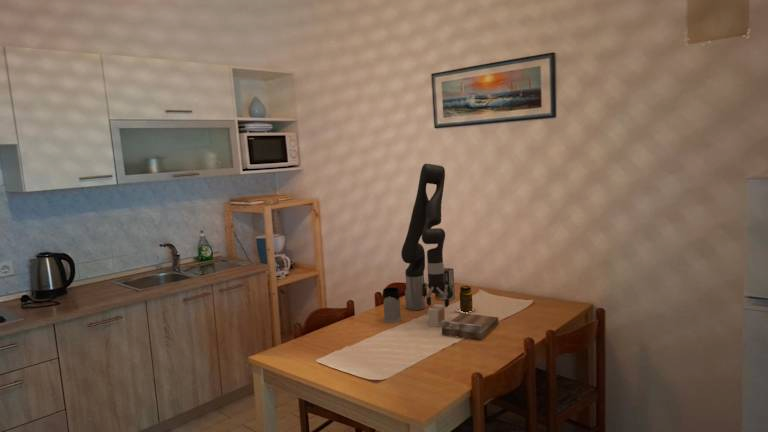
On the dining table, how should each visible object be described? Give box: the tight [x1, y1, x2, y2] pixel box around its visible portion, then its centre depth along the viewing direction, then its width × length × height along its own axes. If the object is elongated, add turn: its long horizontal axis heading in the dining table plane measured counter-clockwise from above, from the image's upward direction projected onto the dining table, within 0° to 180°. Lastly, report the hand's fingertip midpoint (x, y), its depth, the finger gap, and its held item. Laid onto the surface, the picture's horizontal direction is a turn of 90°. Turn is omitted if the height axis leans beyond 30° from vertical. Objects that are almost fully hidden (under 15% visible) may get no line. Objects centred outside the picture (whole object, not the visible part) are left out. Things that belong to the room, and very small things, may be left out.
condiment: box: [457, 285, 474, 313], centre depth 257 cm, size 7×8×12 cm
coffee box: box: [434, 267, 456, 301], centre depth 280 cm, size 9×6×16 cm
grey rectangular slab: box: [440, 312, 499, 341], centre depth 232 cm, size 18×22×6 cm
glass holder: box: [382, 287, 403, 324], centre depth 253 cm, size 9×14×15 cm, turn 166°
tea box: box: [427, 303, 446, 328], centre depth 242 cm, size 5×8×8 cm, turn 149°
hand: (438, 305), depth 241 cm, fingers open, 8 cm apart
